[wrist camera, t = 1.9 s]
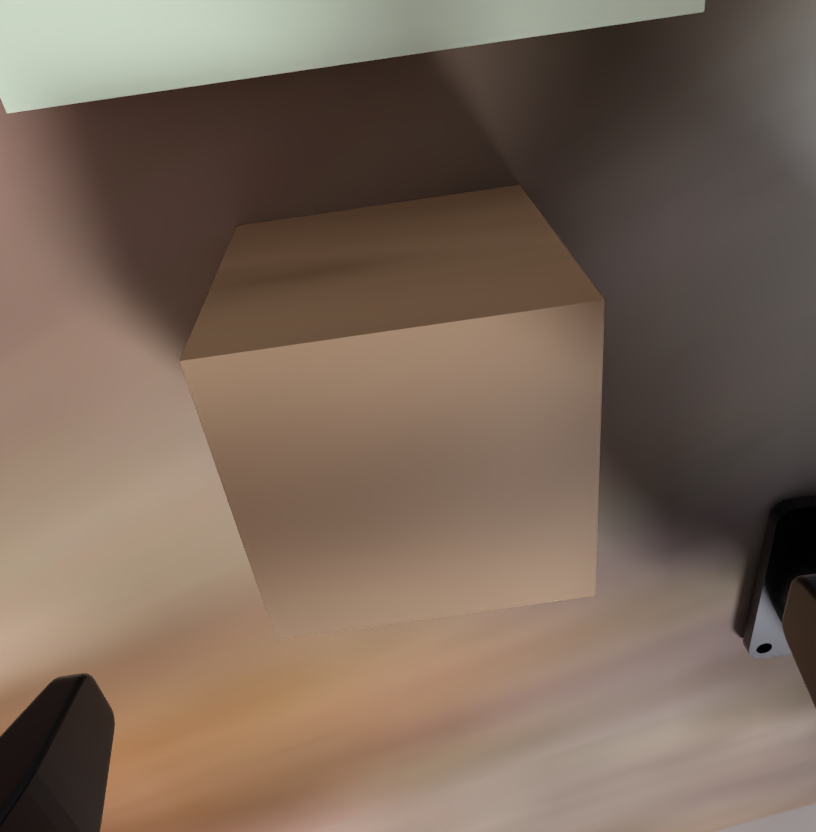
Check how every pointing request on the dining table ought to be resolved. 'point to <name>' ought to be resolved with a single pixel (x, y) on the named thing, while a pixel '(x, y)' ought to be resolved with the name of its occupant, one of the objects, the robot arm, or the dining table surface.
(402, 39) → the base
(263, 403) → the walnut cube
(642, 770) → the dining table surface
